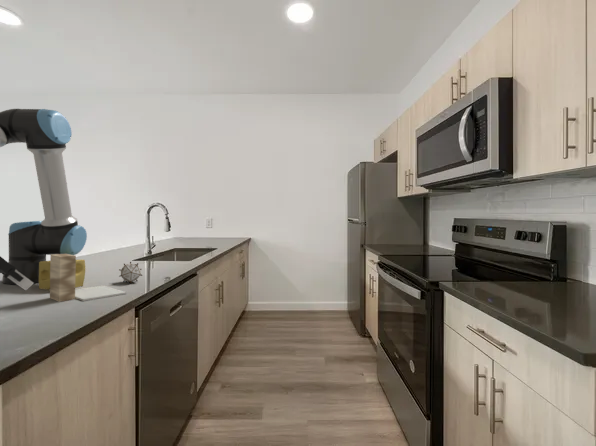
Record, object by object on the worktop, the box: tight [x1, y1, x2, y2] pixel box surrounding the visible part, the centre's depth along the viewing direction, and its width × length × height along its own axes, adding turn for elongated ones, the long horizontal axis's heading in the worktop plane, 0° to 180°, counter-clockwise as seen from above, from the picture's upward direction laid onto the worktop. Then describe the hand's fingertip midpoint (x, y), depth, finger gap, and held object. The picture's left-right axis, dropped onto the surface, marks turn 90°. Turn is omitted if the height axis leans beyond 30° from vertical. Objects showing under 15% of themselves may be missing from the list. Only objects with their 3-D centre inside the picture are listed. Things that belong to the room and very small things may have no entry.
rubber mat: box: [75, 285, 127, 302], centre depth 123 cm, size 14×16×1 cm
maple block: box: [49, 254, 77, 303], centre depth 115 cm, size 4×7×14 cm, turn 55°
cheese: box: [38, 259, 86, 290], centre depth 131 cm, size 10×11×10 cm
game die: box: [118, 261, 143, 284], centre depth 143 cm, size 9×8×10 cm
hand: (29, 286), depth 107 cm, fingers closed
